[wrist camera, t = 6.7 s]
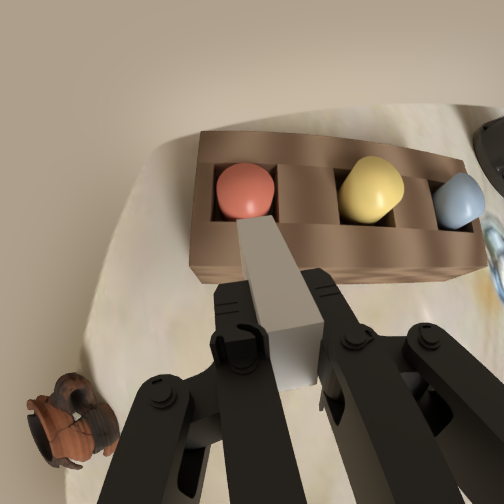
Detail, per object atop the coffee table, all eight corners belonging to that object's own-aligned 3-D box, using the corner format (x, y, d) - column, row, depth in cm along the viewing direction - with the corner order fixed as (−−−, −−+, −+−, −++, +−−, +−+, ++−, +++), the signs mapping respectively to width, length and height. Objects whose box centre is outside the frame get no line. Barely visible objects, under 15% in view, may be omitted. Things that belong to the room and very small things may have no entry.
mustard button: (376, 184, 25) (397, 159, 21) (383, 228, 24) (408, 209, 20) (333, 180, 25) (349, 153, 21) (338, 226, 24) (357, 205, 20)
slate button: (453, 194, 26) (478, 176, 22) (462, 233, 25) (489, 218, 20) (423, 190, 26) (447, 169, 21) (432, 231, 25) (459, 214, 20)
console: (428, 190, 33) (462, 160, 26) (444, 281, 30) (487, 266, 22) (208, 175, 32) (200, 131, 24) (202, 283, 29) (188, 265, 21)
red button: (268, 189, 27) (273, 163, 23) (269, 233, 26) (275, 214, 22) (220, 188, 27) (218, 162, 23) (218, 233, 26) (215, 213, 22)
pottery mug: (124, 470, 23) (65, 492, 16) (78, 424, 28) (25, 435, 21) (131, 387, 24) (54, 402, 16) (81, 344, 28) (17, 347, 21)
